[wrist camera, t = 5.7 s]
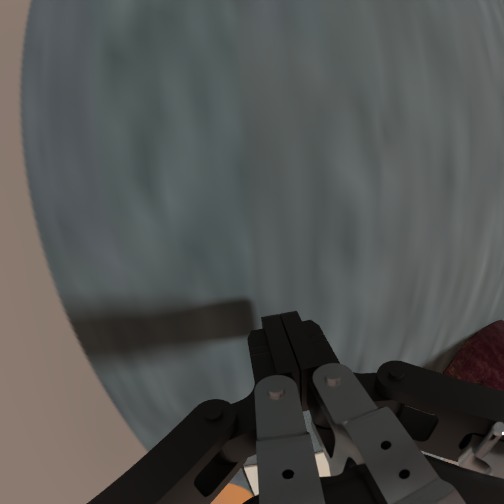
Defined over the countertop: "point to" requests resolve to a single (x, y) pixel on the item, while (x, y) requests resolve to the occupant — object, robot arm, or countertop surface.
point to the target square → (253, 474)
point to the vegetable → (481, 358)
